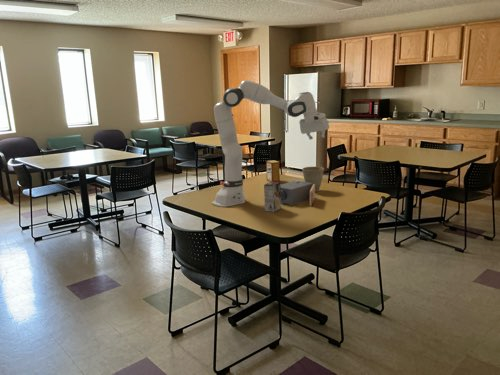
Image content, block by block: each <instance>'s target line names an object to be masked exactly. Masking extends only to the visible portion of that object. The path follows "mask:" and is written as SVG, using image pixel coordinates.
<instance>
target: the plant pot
mask: <svg viewBox="0 0 500 375" xmlns="http://www.w3.org/2000/svg"><path fill="white" fill-rule="evenodd" d="M301 170H302V175H303V181H304V182H309V183H313V184H315V193H316V192H319V191H320V188H321V185H322V181H323V177H324V171H325V168H324V167H322V166H306V167H303V168H302V169H301Z"/></svg>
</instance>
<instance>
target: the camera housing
mask: <svg viewBox="0 0 500 375" xmlns="http://www.w3.org/2000/svg"><path fill="white" fill-rule="evenodd" d="M312 186H313V183H309V182H305V181H304V180H303V181H302V180H292V181H289V182H286V183H282V184H281V183H280V188H281V204H284V205H289V206H293V205H297V204H299V203H303V202H306V201H310V189H311V188H312Z"/></svg>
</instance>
